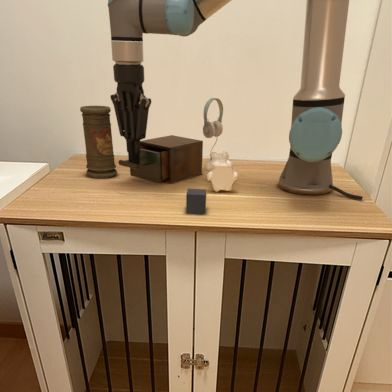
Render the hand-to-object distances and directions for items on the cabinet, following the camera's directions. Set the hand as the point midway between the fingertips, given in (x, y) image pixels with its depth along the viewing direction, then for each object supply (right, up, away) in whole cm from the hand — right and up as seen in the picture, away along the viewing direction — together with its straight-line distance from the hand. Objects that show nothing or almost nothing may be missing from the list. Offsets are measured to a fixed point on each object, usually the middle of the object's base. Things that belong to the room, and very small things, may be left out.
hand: (134, 165), depth 114 cm
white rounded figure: (+24, -4, +5) cm, 25 cm away
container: (-11, +2, +11) cm, 16 cm away
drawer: (+4, 0, +7) cm, 8 cm away
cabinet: (+10, +3, +13) cm, 16 cm away
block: (+17, -17, -14) cm, 28 cm away
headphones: (+22, +8, +20) cm, 31 cm away
